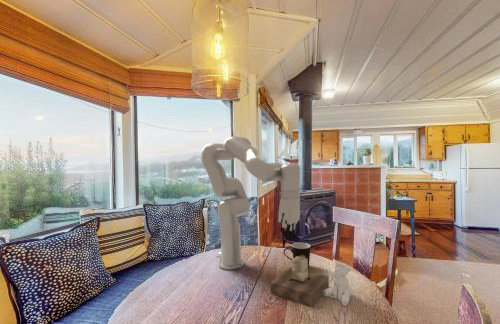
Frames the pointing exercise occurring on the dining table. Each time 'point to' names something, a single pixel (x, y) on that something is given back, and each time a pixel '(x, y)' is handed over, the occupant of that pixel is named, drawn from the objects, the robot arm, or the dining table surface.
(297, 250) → the coffee mug
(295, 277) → the birch peg
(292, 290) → the walnut board
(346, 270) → the sitting furry creature
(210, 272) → the dining table surface
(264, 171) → the robot arm
